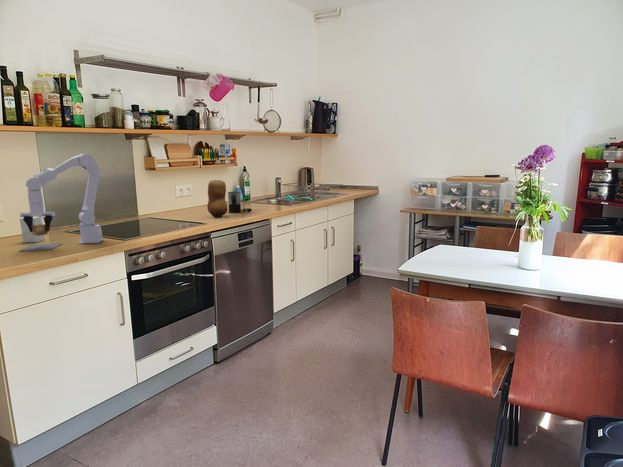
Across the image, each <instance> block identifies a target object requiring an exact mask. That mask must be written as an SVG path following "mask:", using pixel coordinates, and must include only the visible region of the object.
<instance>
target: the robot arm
mask: <svg viewBox="0 0 623 467" xmlns="http://www.w3.org/2000/svg"><path fill="white" fill-rule="evenodd" d="M72 167H81V168H83V169H84V170H85V172H87V174H88V177H87V178H88V179H87V183H86V187H85V188H86V189H85V194H84V200H83V204H82V207H81V209H80V210H81V211H80V212H79V213H78V215H77V216H78V221H80V223H79V232H80V241H79V242H78V244H81V245H82V244H99V243H100V242H102V241H103V232H102V227H101V224H97V223H96V222H95V221H96V215H95V203H96V198H97V192H98V187H99V181H100V176H101V170H100V168H99V166H98V164H97V161H96V158H94V157H93V156H92V154H90V153H80V154H78V155H75V156H73V157H71V158H69V159H67V160H65V161H64V162H62V163H60V164H59V165H57V166H56V167H54V168H48V167H47V168H43V169H42V171H41V172H39V173H37V174H33V175H32V177H29V178H28V179H27V180H26V182H25V186H26V188H27V197H28V204H29V211H28V212H20V213H19V217H20V218H23V220H24V222H25V223H26V224H27V226H28V228H29V230H30V232H32V227H31V226H32V225H33V217H39V216H41V217H43V219H42V220H43V221H44V224H45V227H46V232H48V233H49V231H50V228H51V227H50V226H51V222H52V220H53V218H54V217H55V216H56V212H55V211H45V207H44V199H43V198H44V197H43V192H42V186H46V185H47V184H49V183H51V182H52V181H54V180H56V179H57V178H58V177H57V176H58V175H59V174H61V173H63V172H65V171H66V170H69V169H70V168H72Z"/></svg>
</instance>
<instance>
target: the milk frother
mask: <svg viewBox="0 0 623 467" xmlns="http://www.w3.org/2000/svg"><path fill="white" fill-rule="evenodd" d="M227 198H228V199H227V200H228V213H229V214H238V213H242V212H244V213H246V212H247V213H251V212H252V211H253V209H252V208H243V209H242V207H241V191H228V192H227Z"/></svg>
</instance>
